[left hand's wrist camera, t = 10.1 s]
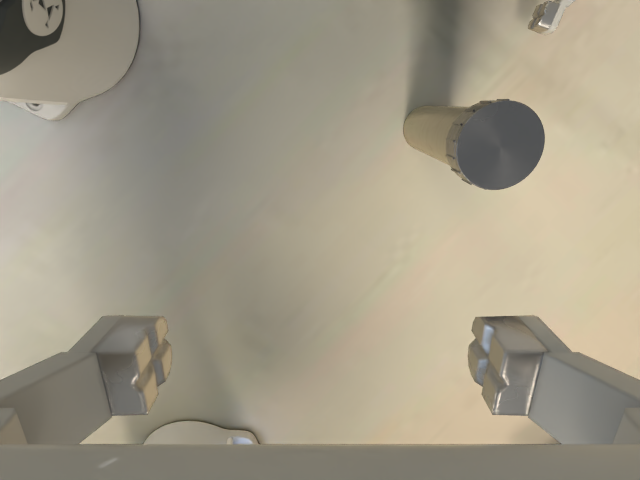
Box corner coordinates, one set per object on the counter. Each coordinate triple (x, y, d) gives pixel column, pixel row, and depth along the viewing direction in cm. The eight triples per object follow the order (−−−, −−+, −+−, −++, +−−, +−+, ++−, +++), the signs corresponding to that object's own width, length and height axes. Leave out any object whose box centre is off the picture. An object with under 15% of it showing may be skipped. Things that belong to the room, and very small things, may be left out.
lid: (443, 187, 25) (454, 194, 23) (445, 104, 23) (456, 104, 21) (523, 180, 24) (541, 186, 22) (531, 95, 23) (550, 95, 21)
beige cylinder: (403, 151, 38) (459, 184, 23) (402, 108, 37) (461, 111, 22) (445, 148, 38) (530, 178, 23) (446, 103, 37) (537, 104, 21)
